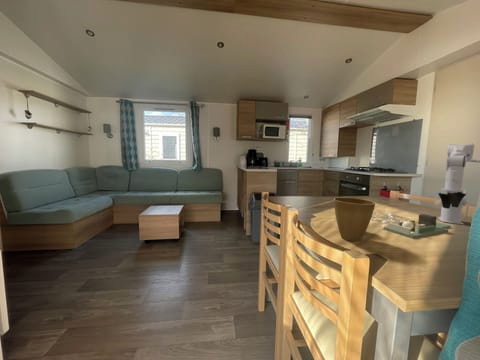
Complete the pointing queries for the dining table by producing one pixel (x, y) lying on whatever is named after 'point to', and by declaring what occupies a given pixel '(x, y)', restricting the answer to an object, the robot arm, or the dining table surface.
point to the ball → (407, 224)
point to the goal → (402, 228)
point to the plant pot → (353, 217)
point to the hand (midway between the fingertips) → (450, 207)
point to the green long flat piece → (423, 230)
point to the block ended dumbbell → (425, 221)
